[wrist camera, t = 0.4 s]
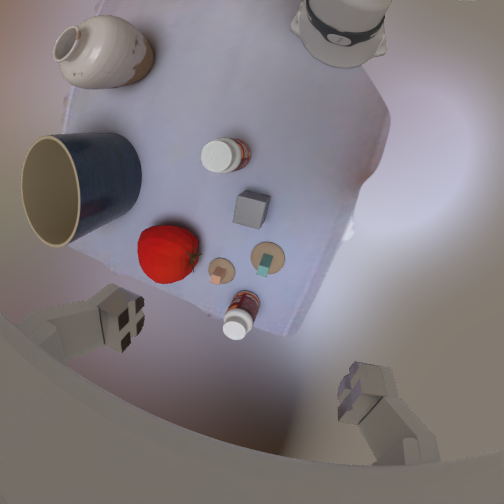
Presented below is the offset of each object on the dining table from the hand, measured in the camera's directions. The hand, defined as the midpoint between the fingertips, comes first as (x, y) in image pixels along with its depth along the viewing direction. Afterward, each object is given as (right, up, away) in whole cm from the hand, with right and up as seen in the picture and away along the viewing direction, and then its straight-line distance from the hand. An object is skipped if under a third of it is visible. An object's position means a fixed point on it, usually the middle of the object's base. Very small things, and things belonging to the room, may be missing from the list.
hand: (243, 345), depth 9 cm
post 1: (-6, -1, +50) cm, 51 cm away
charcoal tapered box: (+1, +12, +44) cm, 45 cm away
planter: (-35, +22, +48) cm, 63 cm away
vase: (-26, +46, +36) cm, 64 cm away
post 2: (+4, +2, +47) cm, 47 cm away
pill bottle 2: (-1, -8, +52) cm, 53 cm away
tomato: (-16, +5, +51) cm, 53 cm away
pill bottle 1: (-3, +22, +41) cm, 46 cm away
